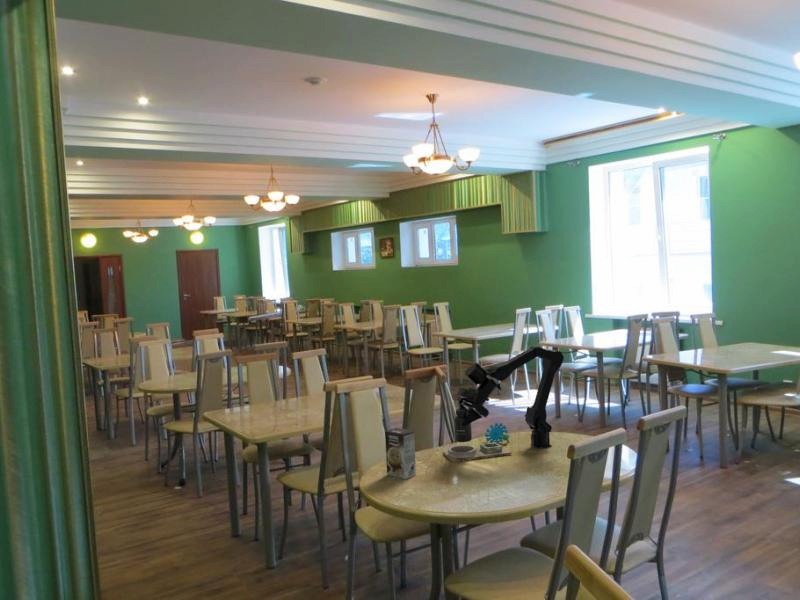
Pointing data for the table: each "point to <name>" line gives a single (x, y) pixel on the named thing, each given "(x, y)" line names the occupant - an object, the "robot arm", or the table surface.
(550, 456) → the table surface
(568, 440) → the table surface
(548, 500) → the table surface
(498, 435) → the gear
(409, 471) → the coffee box
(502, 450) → the socket board
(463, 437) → the supplement bottle
